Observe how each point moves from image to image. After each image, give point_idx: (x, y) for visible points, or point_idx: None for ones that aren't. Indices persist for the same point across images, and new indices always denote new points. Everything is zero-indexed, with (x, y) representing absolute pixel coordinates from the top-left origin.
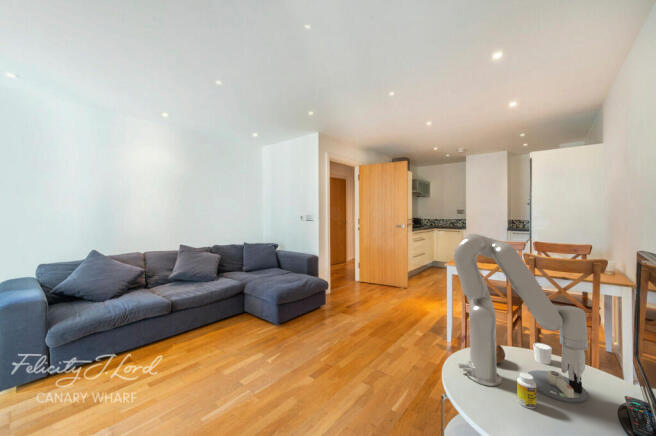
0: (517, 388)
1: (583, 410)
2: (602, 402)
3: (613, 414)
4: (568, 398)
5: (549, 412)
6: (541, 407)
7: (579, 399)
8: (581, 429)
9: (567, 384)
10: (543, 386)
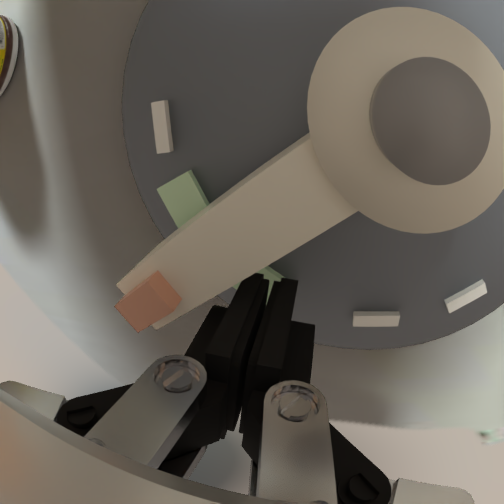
0: None
1: None
2: (361, 388)
3: None
4: None
5: (6, 160)
6: (11, 117)
7: None
8: (19, 282)
9: (220, 284)
10: (220, 29)
